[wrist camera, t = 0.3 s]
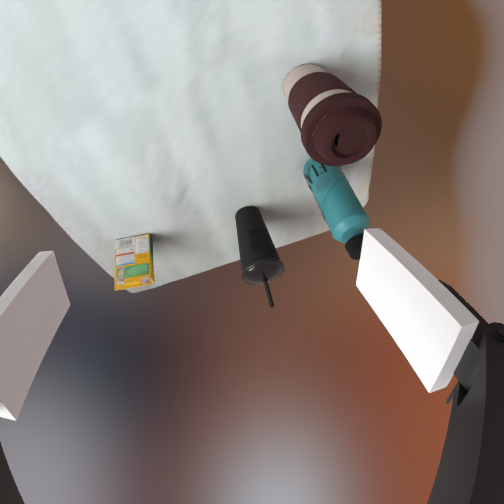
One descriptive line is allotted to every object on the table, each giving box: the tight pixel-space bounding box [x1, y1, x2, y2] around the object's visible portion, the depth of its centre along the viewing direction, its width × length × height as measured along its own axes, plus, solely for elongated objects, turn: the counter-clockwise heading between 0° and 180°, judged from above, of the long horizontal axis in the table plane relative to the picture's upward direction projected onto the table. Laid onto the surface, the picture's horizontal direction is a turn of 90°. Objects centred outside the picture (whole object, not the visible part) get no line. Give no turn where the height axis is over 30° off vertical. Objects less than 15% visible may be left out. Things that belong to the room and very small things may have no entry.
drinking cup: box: [235, 206, 285, 308], centre depth 56 cm, size 8×8×20 cm
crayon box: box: [115, 233, 154, 291], centre depth 57 cm, size 7×3×12 cm, turn 90°
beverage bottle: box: [304, 158, 370, 260], centre depth 48 cm, size 6×7×20 cm
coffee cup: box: [283, 64, 382, 166], centre depth 36 cm, size 10×10×15 cm
